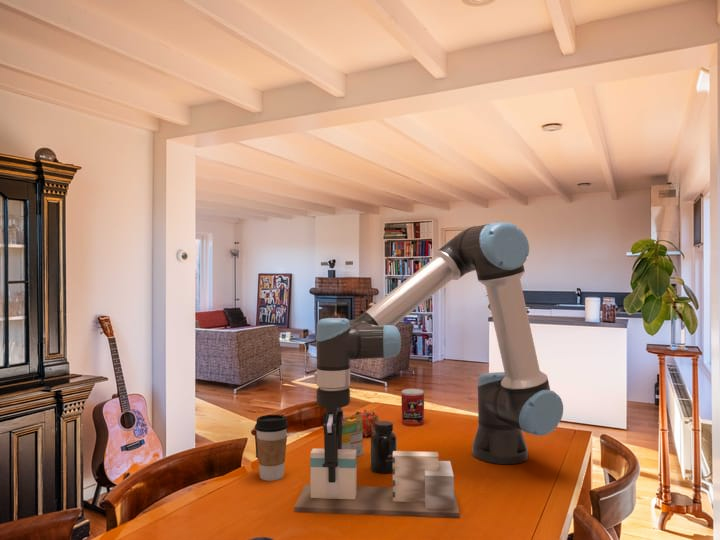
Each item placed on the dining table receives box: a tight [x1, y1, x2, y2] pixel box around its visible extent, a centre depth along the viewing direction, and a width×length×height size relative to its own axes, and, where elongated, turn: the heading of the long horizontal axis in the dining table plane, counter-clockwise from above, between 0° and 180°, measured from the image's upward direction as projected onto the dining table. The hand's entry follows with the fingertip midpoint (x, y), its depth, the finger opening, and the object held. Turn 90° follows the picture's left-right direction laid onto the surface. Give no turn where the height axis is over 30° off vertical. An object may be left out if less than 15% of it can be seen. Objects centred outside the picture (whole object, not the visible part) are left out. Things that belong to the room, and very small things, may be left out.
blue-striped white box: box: [309, 448, 358, 500], centre depth 116 cm, size 10×3×10 cm, turn 85°
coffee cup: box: [254, 414, 289, 482], centre depth 130 cm, size 8×8×15 cm
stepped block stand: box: [293, 450, 461, 519], centre depth 115 cm, size 35×12×11 cm, turn 85°
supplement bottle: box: [370, 420, 398, 474], centre depth 135 cm, size 7×7×12 cm
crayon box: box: [342, 414, 364, 457], centre depth 145 cm, size 7×3×12 cm, turn 123°
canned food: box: [400, 388, 425, 427], centre depth 177 cm, size 8×8×11 cm
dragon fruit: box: [349, 409, 379, 438], centre depth 164 cm, size 8×8×12 cm
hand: (333, 491), depth 116 cm, fingers closed on blue-striped white box, 3 cm apart
